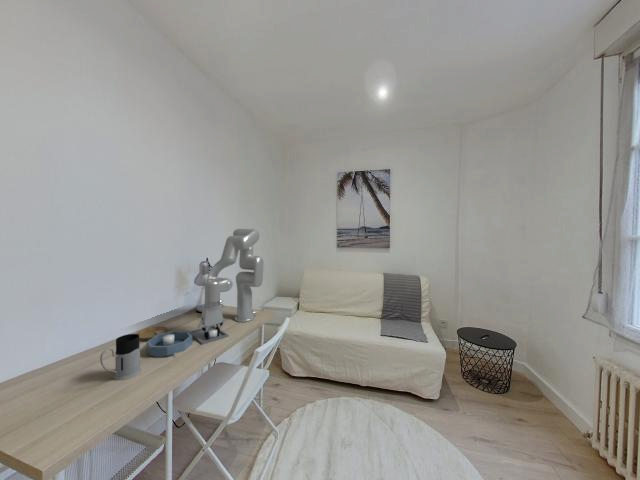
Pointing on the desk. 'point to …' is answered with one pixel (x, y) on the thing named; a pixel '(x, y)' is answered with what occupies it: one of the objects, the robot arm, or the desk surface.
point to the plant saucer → (150, 332)
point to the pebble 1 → (168, 340)
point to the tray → (199, 336)
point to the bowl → (180, 344)
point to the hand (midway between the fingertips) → (212, 336)
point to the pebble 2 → (212, 333)
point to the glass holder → (126, 357)
